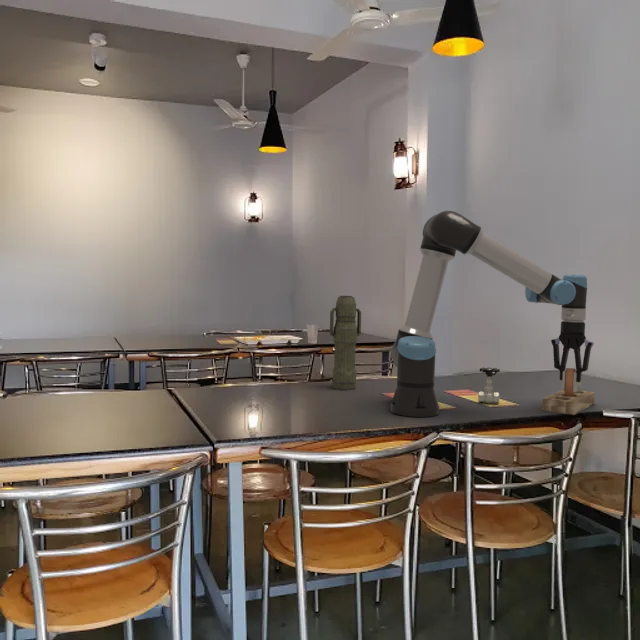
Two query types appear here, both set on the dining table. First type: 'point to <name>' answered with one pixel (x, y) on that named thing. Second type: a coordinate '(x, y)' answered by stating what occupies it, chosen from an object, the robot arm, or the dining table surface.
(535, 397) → the dining table surface
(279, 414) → the dining table surface
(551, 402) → the beech block
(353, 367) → the thermos
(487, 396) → the valve
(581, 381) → the sage peg
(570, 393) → the terracotta peg
